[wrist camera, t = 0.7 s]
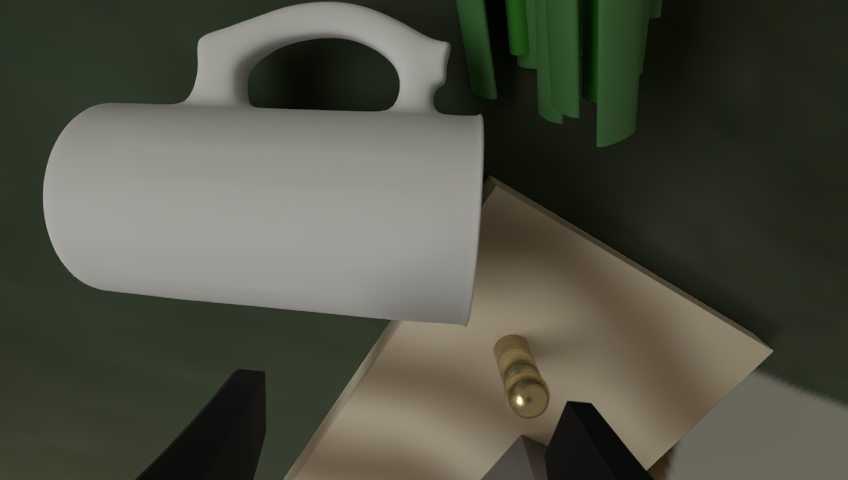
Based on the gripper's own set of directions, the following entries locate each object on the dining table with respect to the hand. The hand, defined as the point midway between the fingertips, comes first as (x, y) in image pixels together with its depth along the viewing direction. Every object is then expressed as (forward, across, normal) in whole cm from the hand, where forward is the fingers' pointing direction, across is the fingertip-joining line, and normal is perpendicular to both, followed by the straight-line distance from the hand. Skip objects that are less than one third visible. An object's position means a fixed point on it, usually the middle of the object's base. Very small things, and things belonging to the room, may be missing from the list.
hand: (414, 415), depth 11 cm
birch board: (+10, -6, +10) cm, 15 cm away
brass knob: (+8, -5, +5) cm, 11 cm away
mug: (+8, +11, -3) cm, 13 cm away
